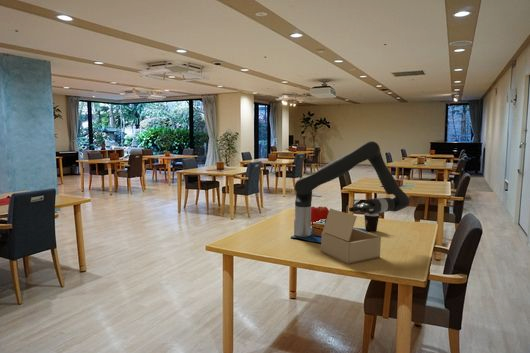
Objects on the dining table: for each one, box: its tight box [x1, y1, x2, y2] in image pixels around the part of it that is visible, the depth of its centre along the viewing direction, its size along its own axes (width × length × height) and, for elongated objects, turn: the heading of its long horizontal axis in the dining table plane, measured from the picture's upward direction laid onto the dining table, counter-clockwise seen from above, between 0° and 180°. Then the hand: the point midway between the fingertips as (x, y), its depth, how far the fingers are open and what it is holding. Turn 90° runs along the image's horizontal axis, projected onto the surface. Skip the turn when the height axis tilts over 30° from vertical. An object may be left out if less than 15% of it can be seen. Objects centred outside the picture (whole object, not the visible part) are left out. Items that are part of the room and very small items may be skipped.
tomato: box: [311, 206, 330, 224], centre depth 252 cm, size 13×14×12 cm
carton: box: [320, 227, 382, 265], centre depth 191 cm, size 20×21×10 cm
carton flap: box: [322, 208, 358, 241], centre depth 186 cm, size 1×19×12 cm, turn 30°
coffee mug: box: [363, 212, 380, 233], centre depth 239 cm, size 12×9×10 cm
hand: (350, 209), depth 189 cm, fingers closed
